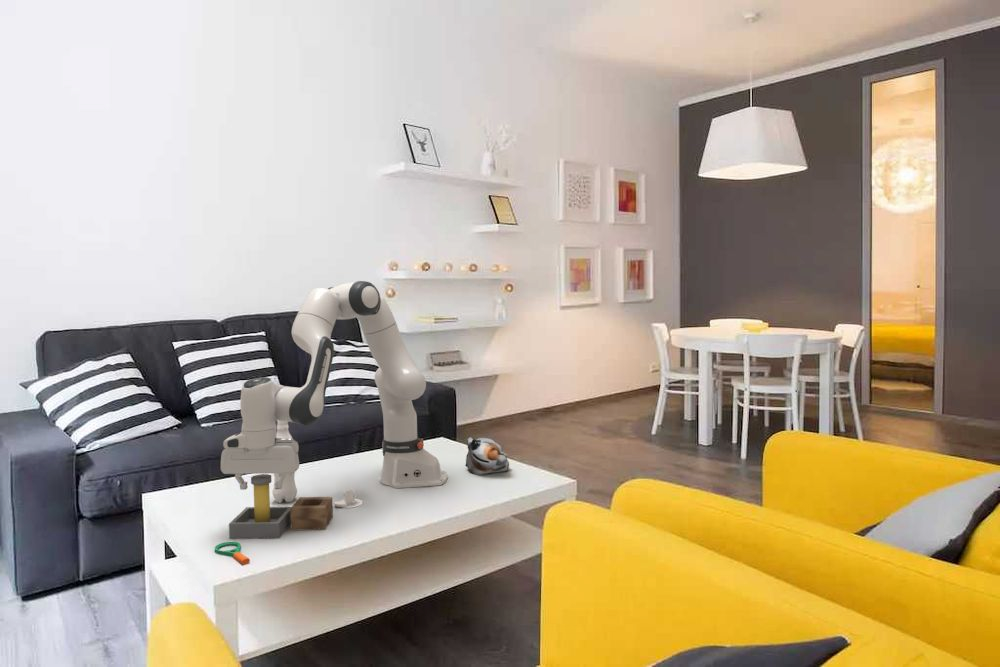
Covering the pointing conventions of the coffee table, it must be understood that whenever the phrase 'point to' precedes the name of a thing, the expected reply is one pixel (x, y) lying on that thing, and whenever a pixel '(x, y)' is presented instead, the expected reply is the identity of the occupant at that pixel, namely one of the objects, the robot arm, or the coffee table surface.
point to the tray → (260, 524)
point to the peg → (261, 497)
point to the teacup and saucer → (348, 500)
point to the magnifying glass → (232, 552)
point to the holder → (311, 513)
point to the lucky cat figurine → (485, 456)
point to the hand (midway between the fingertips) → (261, 488)
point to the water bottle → (288, 483)
